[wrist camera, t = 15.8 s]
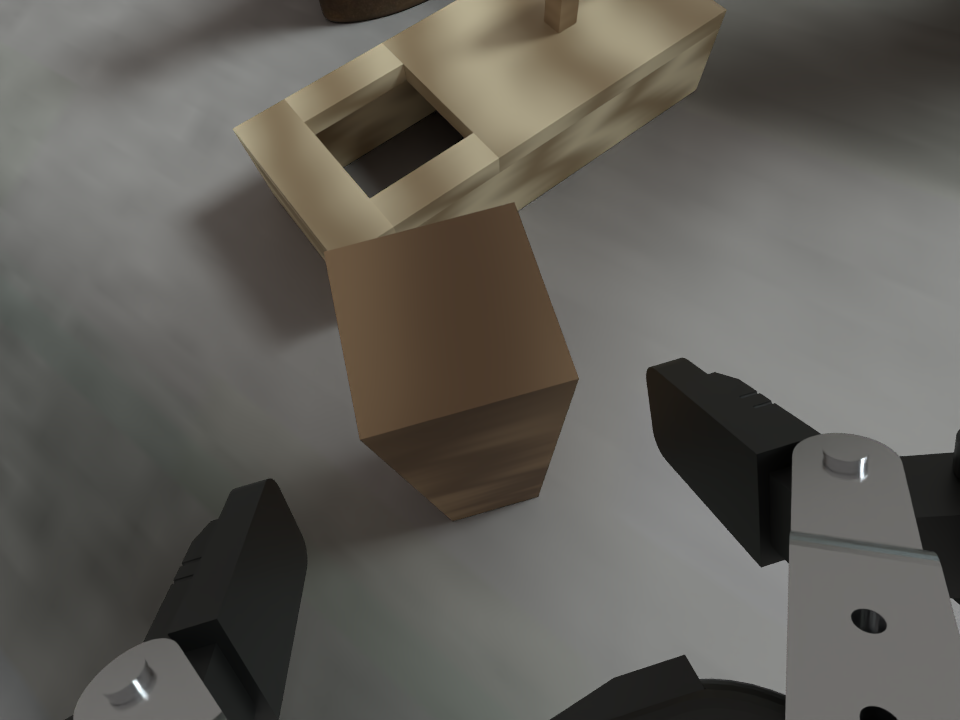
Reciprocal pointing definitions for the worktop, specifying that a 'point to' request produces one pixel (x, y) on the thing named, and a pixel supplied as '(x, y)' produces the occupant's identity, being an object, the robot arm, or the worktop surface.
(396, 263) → the walnut key
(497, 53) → the pine toolbox
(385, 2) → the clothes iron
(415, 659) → the worktop surface
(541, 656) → the worktop surface
